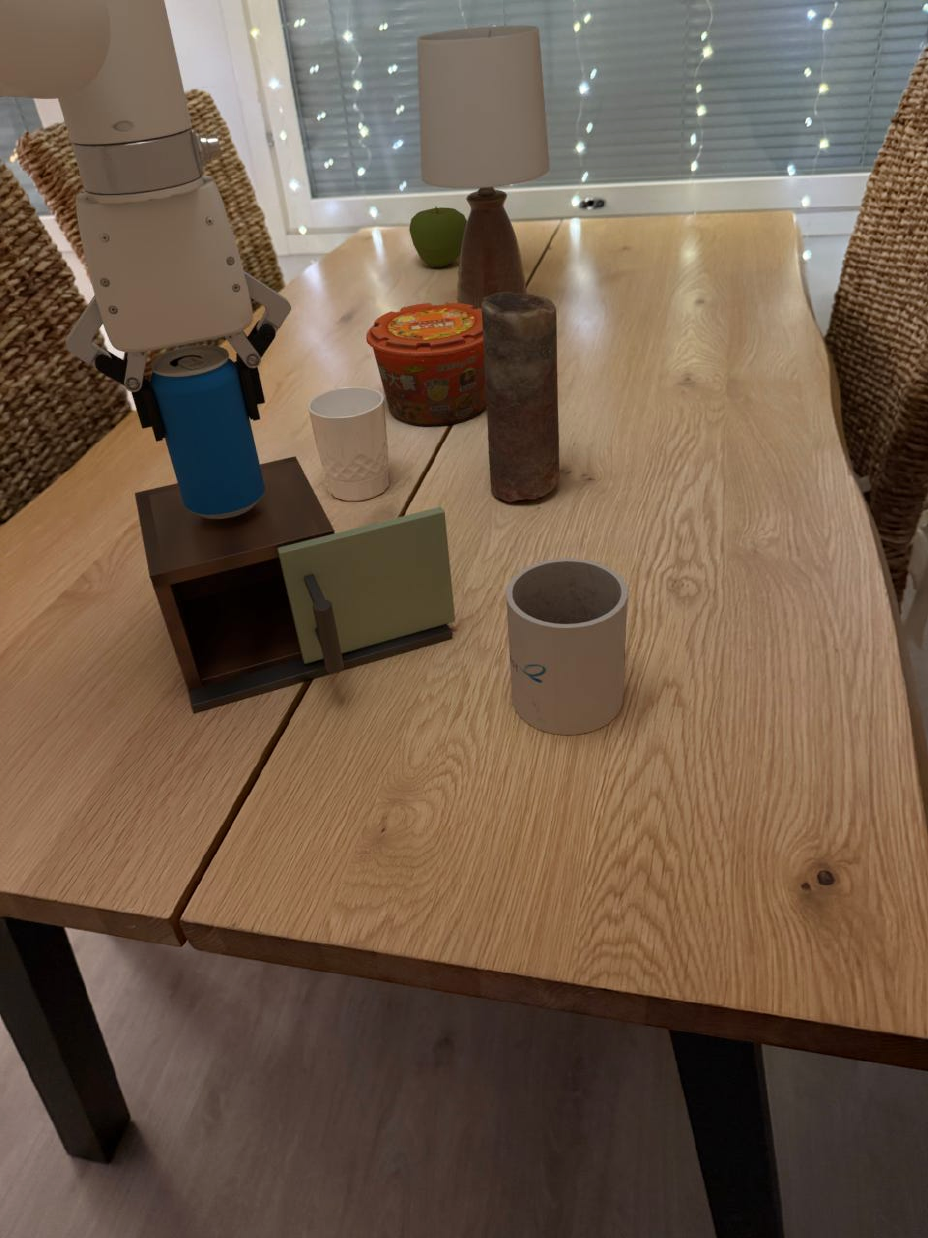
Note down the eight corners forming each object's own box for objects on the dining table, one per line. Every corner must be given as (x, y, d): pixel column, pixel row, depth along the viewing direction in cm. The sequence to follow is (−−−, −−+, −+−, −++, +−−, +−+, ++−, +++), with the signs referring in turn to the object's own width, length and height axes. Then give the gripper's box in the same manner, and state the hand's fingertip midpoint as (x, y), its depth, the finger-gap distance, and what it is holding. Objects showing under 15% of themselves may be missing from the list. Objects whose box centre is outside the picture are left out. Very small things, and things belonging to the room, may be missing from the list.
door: (319, 703, 71) (294, 589, 65) (302, 658, 76) (276, 547, 69) (477, 656, 74) (468, 543, 68) (451, 615, 79) (441, 506, 73)
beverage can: (240, 476, 78) (206, 336, 70) (282, 501, 74) (251, 355, 66) (171, 505, 74) (128, 362, 67) (211, 533, 70) (171, 383, 63)
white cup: (364, 463, 106) (351, 380, 100) (409, 483, 101) (399, 397, 95) (309, 489, 102) (292, 404, 96) (354, 512, 97) (339, 424, 91)
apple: (457, 274, 161) (453, 214, 155) (403, 272, 164) (396, 213, 158) (479, 256, 169) (475, 198, 163) (426, 254, 172) (421, 197, 166)
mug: (636, 726, 68) (641, 619, 62) (521, 742, 68) (516, 635, 62) (598, 627, 78) (599, 526, 72) (497, 640, 78) (491, 540, 72)
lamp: (559, 288, 151) (556, 20, 129) (541, 328, 136) (534, 35, 114) (449, 288, 155) (428, 29, 133) (420, 327, 141) (391, 44, 118)
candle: (508, 467, 102) (499, 284, 90) (570, 477, 100) (569, 289, 88) (479, 499, 97) (465, 310, 85) (543, 511, 94) (539, 316, 82)
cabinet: (193, 713, 73) (151, 590, 66) (171, 606, 85) (134, 492, 78) (452, 638, 78) (440, 516, 71) (397, 547, 91) (381, 436, 83)
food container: (403, 444, 109) (392, 356, 102) (359, 398, 121) (347, 316, 114) (523, 412, 113) (520, 326, 107) (470, 371, 125) (464, 291, 119)
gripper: (262, 139, 64) (306, 383, 75) (0, 175, 60) (86, 429, 71) (284, 155, 58) (328, 418, 69) (-5, 197, 54) (90, 470, 65)
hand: (205, 421), depth 70 cm, fingers closed on beverage can, 6 cm apart
